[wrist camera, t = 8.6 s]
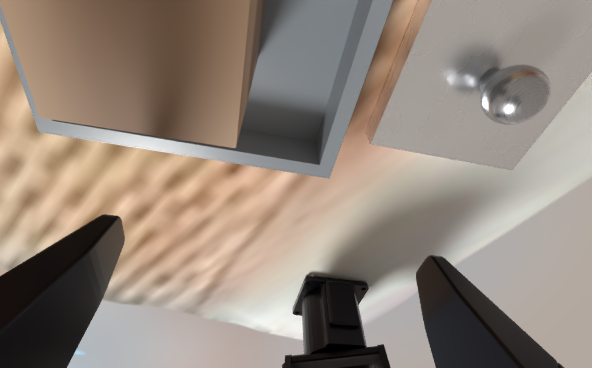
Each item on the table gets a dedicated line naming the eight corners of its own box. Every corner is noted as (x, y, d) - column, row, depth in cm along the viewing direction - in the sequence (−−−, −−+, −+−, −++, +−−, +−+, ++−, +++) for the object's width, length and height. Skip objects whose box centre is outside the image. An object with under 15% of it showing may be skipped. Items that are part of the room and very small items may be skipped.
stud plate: (499, 157, 21) (547, 204, 17) (365, 132, 20) (385, 177, 16) (622, -7, 15) (738, 9, 11) (443, -61, 14) (506, -65, 10)
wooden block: (273, -67, 12) (257, -85, 5) (257, 60, 16) (235, 154, 9) (147, -101, 12) (-60, -172, 5) (157, 40, 15) (42, 124, 8)
